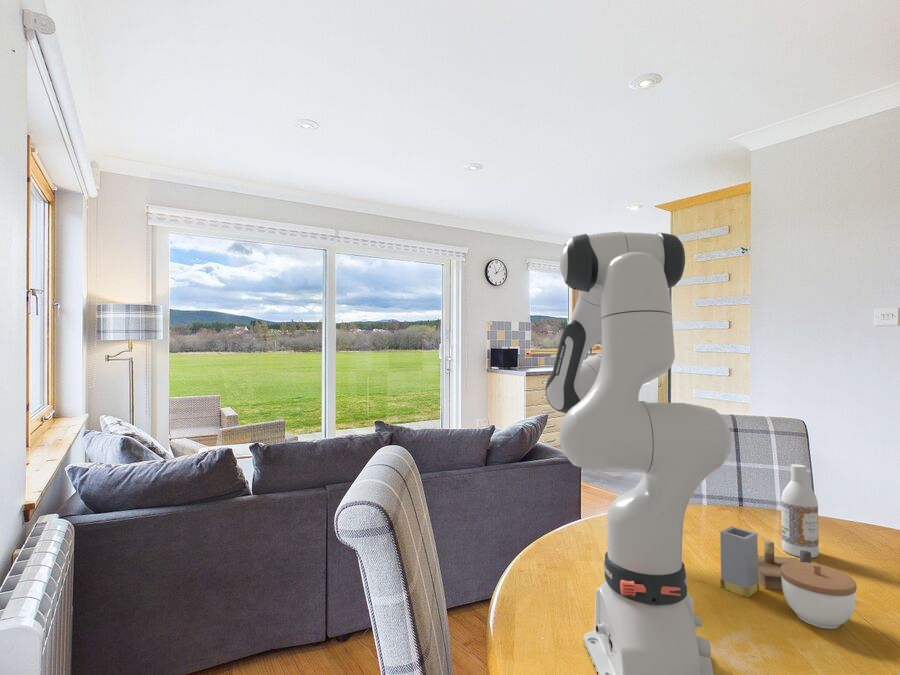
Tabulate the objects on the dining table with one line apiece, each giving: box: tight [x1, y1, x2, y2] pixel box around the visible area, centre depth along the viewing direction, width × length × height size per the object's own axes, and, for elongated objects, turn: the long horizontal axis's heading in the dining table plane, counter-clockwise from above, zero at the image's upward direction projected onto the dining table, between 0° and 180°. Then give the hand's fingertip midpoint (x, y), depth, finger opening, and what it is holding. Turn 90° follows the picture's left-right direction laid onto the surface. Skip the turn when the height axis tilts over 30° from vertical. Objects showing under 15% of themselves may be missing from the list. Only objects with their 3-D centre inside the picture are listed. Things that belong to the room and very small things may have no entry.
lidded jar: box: [780, 562, 858, 630], centre depth 87 cm, size 11×11×9 cm
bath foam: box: [780, 463, 820, 559], centre depth 114 cm, size 7×7×20 cm
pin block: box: [758, 540, 812, 591], centre depth 101 cm, size 10×10×6 cm
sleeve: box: [719, 525, 760, 598], centre depth 98 cm, size 5×5×11 cm
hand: (668, 446), depth 109 cm, fingers open, 8 cm apart
